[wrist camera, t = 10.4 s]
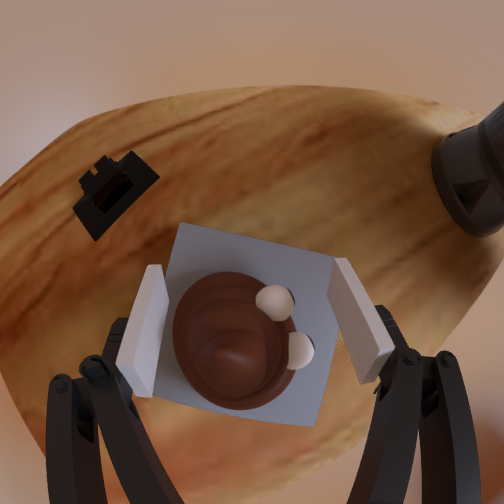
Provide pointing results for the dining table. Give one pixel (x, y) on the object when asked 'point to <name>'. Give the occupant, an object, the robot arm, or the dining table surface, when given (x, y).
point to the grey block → (270, 273)
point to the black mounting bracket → (112, 191)
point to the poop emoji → (238, 340)
